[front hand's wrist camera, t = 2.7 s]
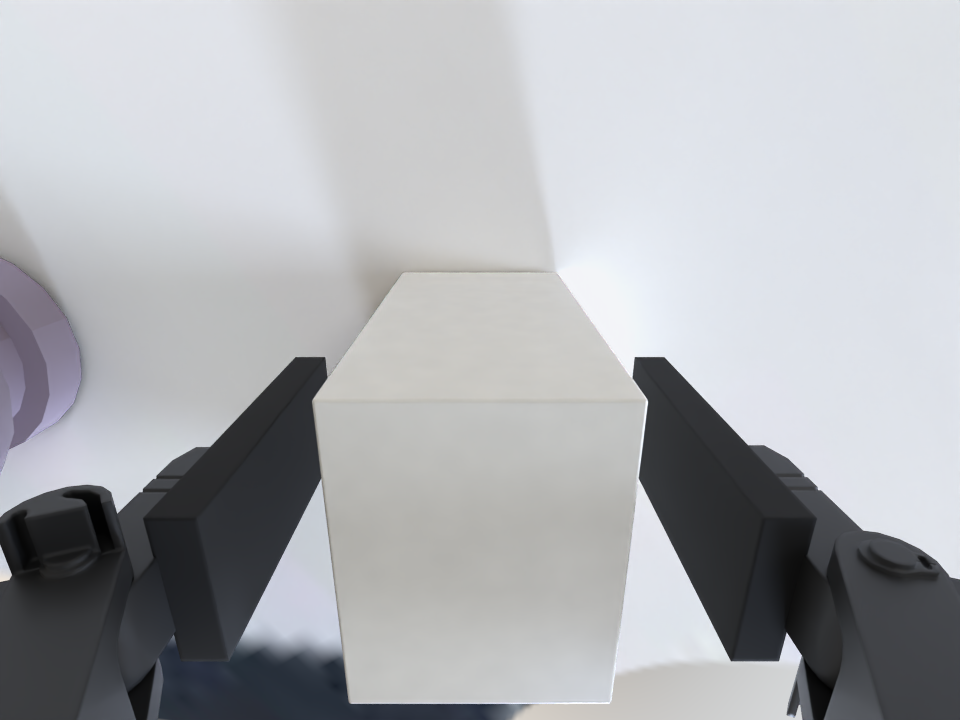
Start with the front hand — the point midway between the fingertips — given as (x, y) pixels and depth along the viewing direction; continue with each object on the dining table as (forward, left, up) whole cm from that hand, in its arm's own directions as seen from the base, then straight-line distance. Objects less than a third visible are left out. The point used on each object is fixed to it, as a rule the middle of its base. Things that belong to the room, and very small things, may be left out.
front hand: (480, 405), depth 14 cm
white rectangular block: (0, 0, -3) cm, 3 cm away
